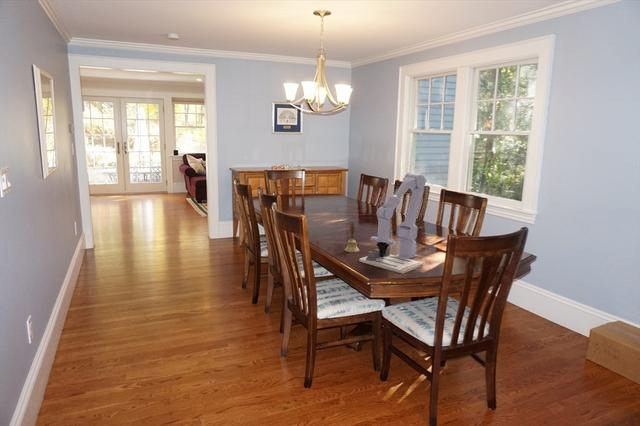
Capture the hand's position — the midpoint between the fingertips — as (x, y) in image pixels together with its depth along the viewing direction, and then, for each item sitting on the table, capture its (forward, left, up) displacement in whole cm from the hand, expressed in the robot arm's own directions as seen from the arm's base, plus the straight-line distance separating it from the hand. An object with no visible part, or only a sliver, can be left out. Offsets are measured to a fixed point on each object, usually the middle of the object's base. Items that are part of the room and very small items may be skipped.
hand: (382, 256), depth 226 cm
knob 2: (-6, -3, -1) cm, 7 cm away
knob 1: (+6, -3, -1) cm, 7 cm away
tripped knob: (0, -3, -1) cm, 3 cm away
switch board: (0, +5, -2) cm, 6 cm away
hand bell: (-4, -24, -3) cm, 24 cm away
